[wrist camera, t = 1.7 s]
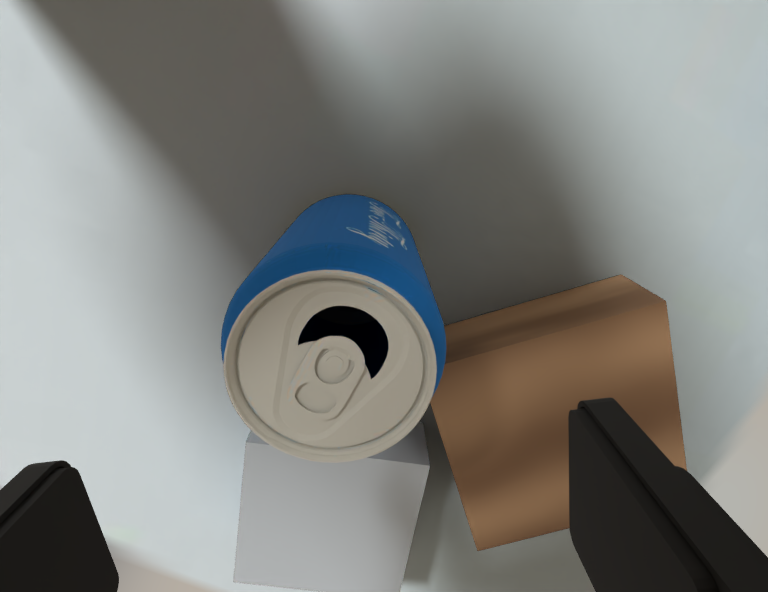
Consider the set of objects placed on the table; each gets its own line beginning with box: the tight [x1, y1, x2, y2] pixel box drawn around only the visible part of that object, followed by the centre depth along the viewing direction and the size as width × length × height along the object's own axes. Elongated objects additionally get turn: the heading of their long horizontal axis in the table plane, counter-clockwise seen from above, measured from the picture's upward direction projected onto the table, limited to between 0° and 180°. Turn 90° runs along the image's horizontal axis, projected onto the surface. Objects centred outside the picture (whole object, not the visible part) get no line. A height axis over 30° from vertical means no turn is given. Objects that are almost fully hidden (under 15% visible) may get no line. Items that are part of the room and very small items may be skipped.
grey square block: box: [233, 422, 430, 592], centre depth 27 cm, size 9×9×4 cm
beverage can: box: [221, 194, 446, 463], centre depth 18 cm, size 6×6×12 cm
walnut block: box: [430, 275, 687, 551], centre depth 25 cm, size 11×11×4 cm
